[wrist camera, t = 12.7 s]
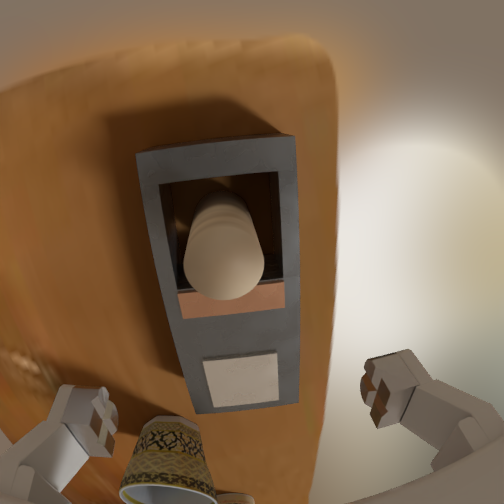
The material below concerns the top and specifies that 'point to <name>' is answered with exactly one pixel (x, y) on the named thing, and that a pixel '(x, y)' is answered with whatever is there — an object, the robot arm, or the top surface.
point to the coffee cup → (235, 498)
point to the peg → (223, 248)
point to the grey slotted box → (242, 308)
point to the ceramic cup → (168, 465)
